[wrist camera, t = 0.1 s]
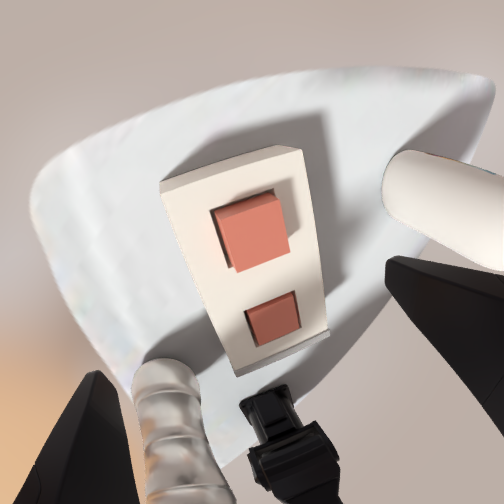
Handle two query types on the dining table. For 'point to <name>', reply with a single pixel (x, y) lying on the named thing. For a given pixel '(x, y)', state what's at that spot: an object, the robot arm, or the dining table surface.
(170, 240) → the dining table surface
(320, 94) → the dining table surface
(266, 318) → the inner button
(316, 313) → the switch panel
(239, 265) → the outer button
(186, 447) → the plastic bottle
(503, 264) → the milk bottle
